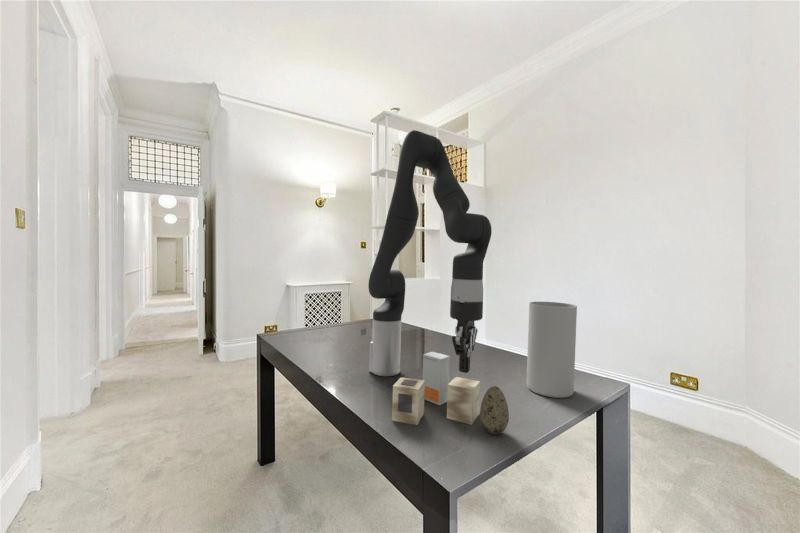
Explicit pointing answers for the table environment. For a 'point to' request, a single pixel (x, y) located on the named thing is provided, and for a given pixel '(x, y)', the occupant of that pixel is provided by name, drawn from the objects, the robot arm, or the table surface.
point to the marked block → (408, 400)
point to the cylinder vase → (551, 348)
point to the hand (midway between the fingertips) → (464, 371)
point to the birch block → (463, 400)
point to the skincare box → (436, 377)
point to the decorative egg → (494, 411)
